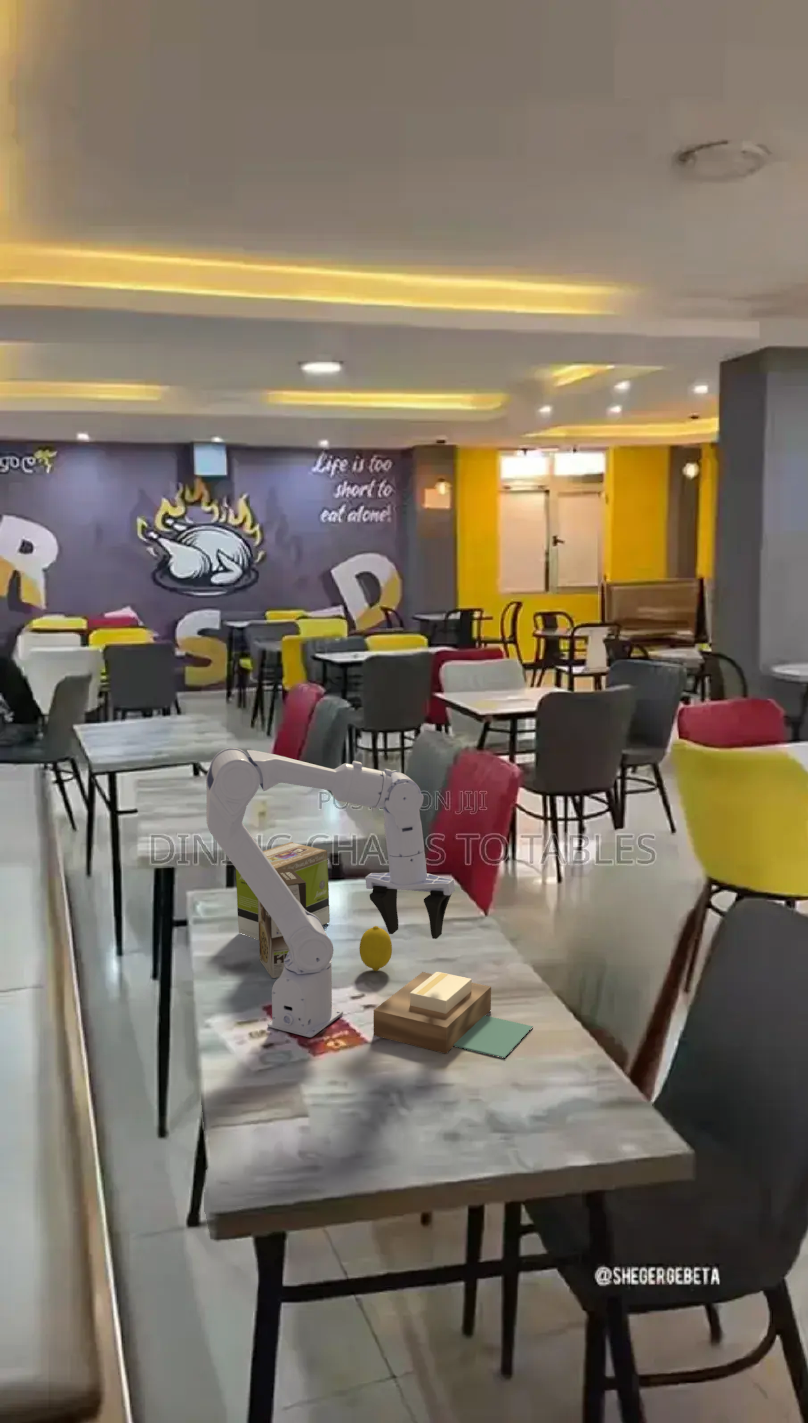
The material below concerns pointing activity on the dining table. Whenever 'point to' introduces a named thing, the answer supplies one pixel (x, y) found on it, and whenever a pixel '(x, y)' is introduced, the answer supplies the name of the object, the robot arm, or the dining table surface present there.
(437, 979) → the cream rectangular block
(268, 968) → the coffee box
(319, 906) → the tea box
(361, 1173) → the dining table surface
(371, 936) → the lemon
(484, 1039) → the mat
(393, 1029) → the brown wooden flat block
